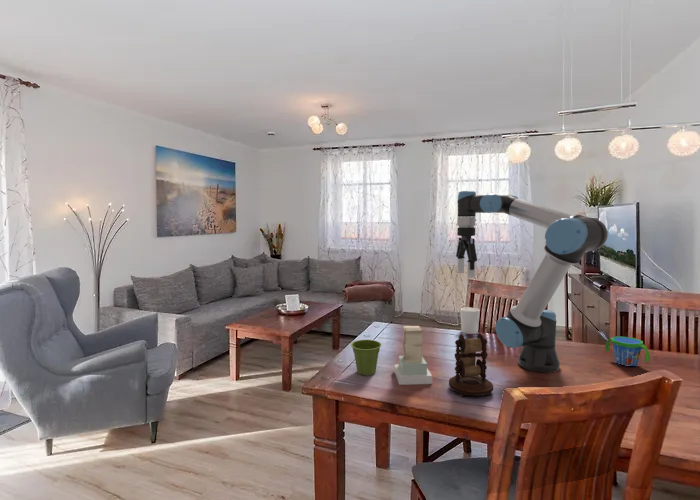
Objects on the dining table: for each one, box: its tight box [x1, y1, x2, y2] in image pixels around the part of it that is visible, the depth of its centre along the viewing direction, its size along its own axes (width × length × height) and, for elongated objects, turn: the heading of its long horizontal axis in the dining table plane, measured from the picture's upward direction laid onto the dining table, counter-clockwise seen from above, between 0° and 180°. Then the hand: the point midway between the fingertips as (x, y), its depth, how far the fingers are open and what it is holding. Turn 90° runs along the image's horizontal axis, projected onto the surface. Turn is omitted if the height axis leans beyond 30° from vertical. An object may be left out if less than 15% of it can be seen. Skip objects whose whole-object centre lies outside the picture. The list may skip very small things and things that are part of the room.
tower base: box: [393, 355, 433, 386], centre depth 148 cm, size 12×12×7 cm
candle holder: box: [460, 306, 481, 335], centre depth 207 cm, size 10×10×12 cm
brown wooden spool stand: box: [448, 332, 494, 398], centre depth 137 cm, size 15×15×20 cm
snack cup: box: [604, 335, 650, 367], centre depth 159 cm, size 16×10×10 cm
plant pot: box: [350, 339, 382, 376], centre depth 154 cm, size 12×12×11 cm
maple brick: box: [402, 325, 423, 363], centre depth 148 cm, size 6×6×12 cm
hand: (465, 275), depth 174 cm, fingers open, 13 cm apart
